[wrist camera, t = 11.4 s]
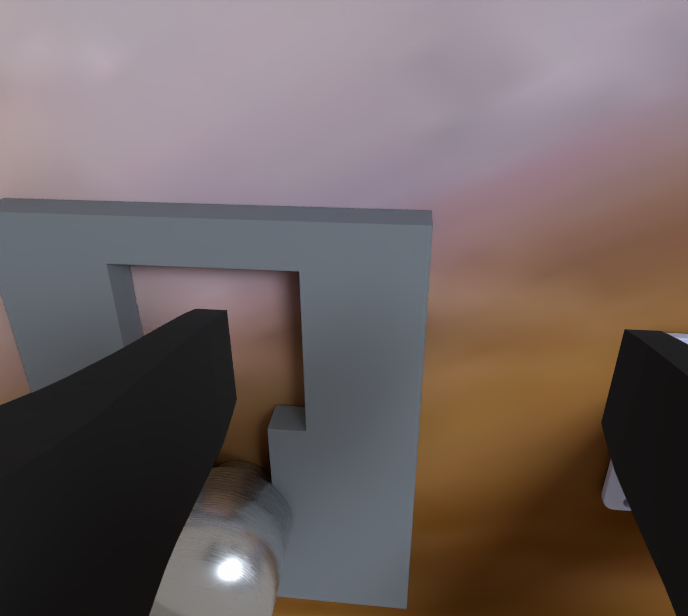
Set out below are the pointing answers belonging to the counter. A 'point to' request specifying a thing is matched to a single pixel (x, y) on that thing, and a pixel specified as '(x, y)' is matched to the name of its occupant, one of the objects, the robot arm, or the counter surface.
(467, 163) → the counter surface
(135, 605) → the robot arm
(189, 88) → the counter surface
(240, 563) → the headed peg
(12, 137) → the counter surface
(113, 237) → the keyhole plate
